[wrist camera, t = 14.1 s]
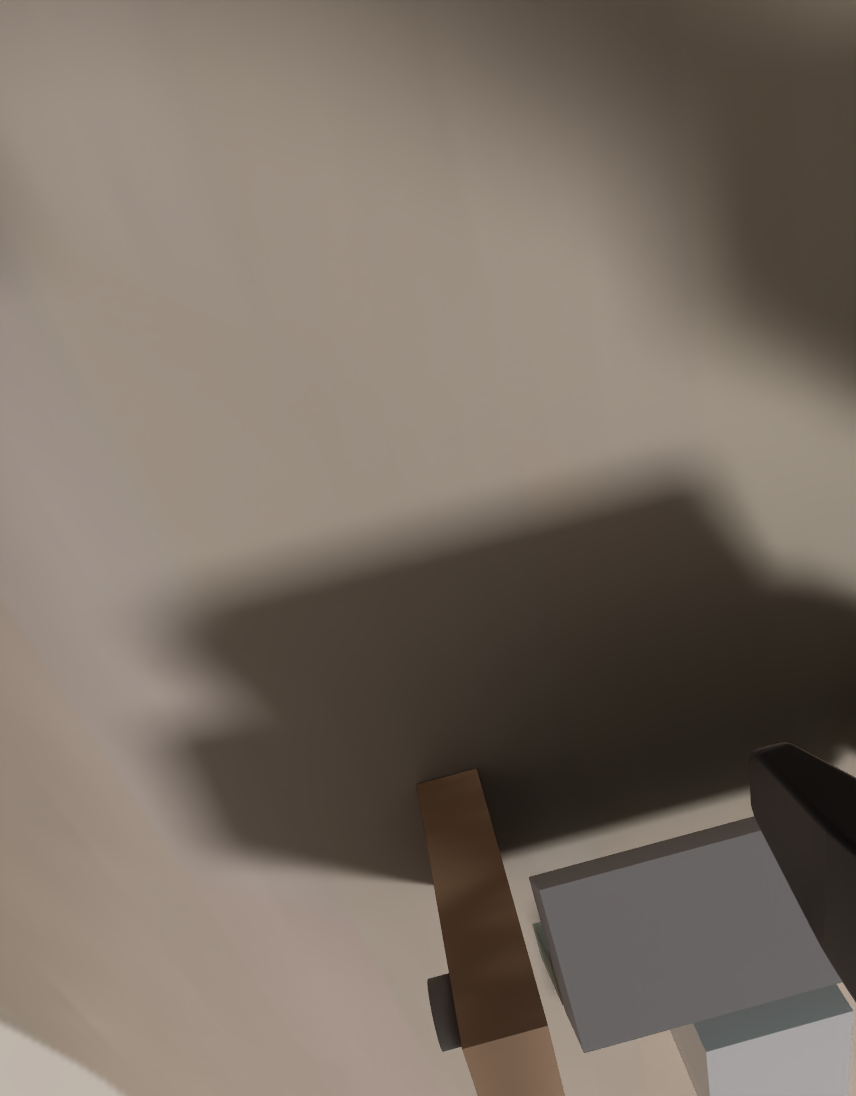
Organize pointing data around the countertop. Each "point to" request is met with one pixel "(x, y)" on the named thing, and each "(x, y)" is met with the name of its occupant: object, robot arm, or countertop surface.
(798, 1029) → the grey cube
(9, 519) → the countertop surface
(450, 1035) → the trapdoor frame
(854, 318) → the countertop surface
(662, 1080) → the countertop surface
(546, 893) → the trapdoor
